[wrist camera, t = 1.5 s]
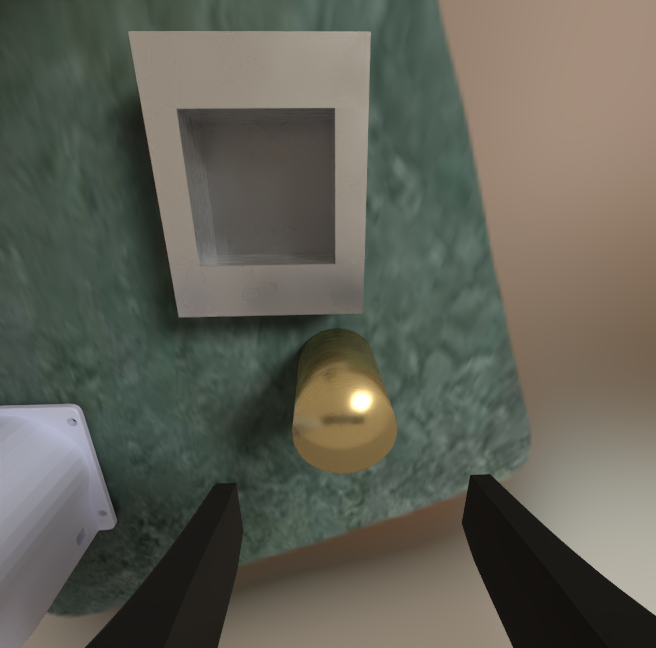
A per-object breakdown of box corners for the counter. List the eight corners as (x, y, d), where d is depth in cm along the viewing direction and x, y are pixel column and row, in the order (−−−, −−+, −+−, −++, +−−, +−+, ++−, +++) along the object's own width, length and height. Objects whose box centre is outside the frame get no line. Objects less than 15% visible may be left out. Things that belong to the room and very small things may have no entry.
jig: (355, 294, 18) (362, 313, 15) (200, 297, 18) (178, 317, 15) (359, 62, 14) (370, 31, 12) (165, 63, 14) (128, 31, 11)
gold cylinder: (372, 394, 20) (394, 471, 15) (300, 396, 20) (294, 475, 14) (375, 327, 19) (400, 385, 13) (297, 329, 19) (289, 388, 13)
